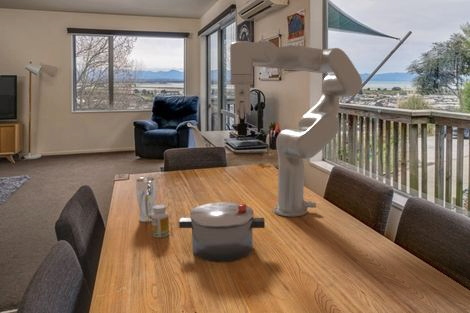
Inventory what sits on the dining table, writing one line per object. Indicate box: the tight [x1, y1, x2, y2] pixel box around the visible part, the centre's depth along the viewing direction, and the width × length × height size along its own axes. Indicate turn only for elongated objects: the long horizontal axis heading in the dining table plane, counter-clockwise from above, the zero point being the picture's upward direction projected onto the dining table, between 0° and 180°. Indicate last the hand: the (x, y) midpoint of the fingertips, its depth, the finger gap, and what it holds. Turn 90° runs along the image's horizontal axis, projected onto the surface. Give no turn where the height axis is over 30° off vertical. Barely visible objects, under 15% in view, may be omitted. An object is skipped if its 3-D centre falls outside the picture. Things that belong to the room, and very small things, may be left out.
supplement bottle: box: [151, 204, 170, 239], centre depth 121 cm, size 5×5×10 cm
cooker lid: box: [189, 201, 254, 228], centre depth 110 cm, size 19×19×3 cm
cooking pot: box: [178, 217, 266, 263], centre depth 111 cm, size 25×18×10 cm
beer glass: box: [135, 176, 157, 223], centre depth 135 cm, size 7×7×15 cm
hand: (242, 135), depth 127 cm, fingers closed
